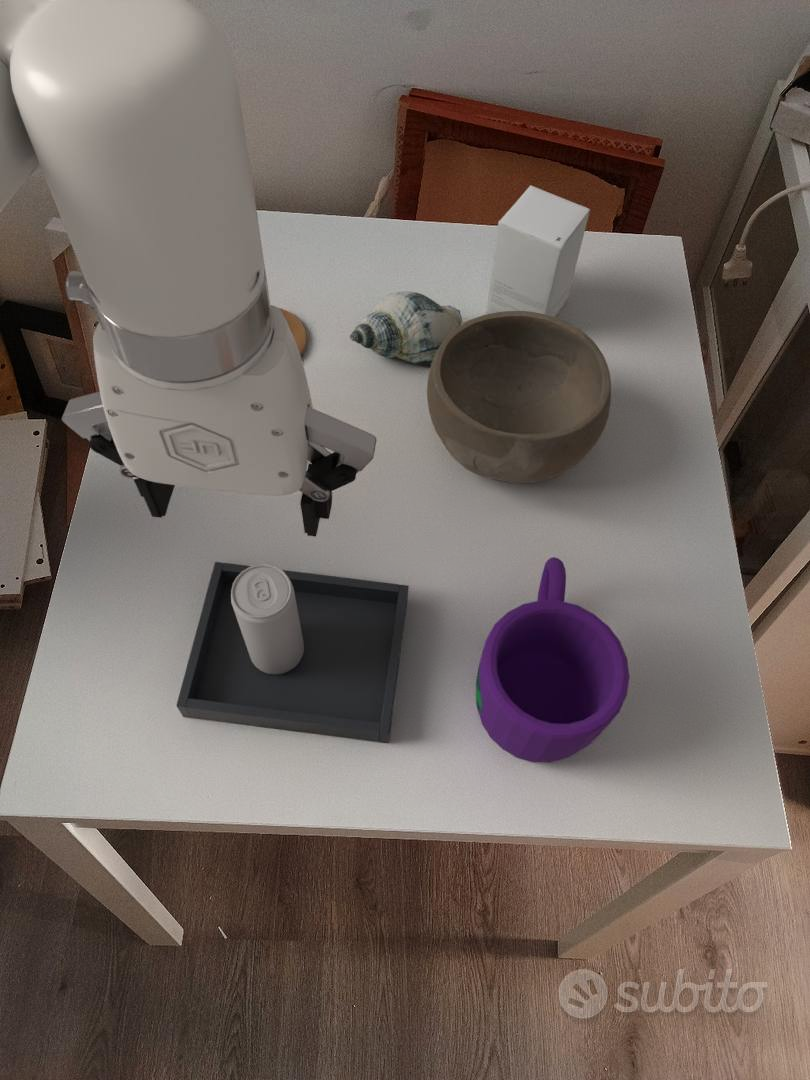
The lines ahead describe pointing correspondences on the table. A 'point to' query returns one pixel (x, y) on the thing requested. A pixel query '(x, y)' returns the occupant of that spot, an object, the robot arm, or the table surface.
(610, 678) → the mug
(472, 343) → the bowl
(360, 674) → the tray
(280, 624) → the beverage can
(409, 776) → the table surface
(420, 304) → the seashell
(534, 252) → the white packaging box
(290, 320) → the copper pad
